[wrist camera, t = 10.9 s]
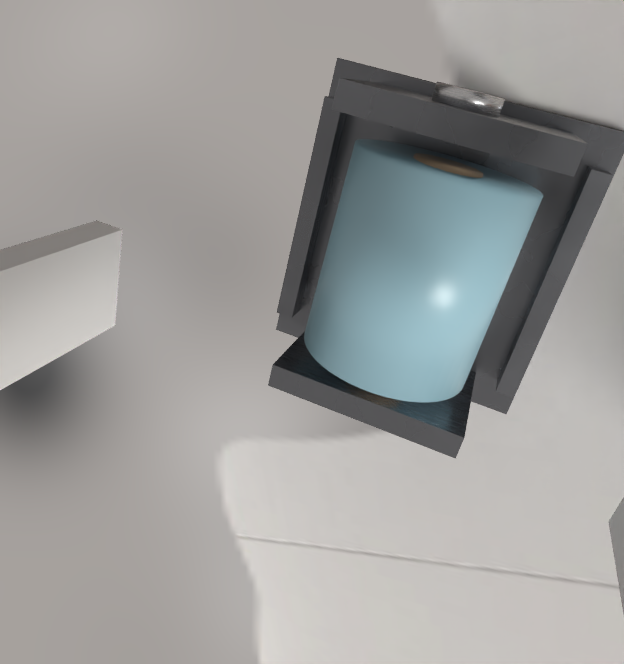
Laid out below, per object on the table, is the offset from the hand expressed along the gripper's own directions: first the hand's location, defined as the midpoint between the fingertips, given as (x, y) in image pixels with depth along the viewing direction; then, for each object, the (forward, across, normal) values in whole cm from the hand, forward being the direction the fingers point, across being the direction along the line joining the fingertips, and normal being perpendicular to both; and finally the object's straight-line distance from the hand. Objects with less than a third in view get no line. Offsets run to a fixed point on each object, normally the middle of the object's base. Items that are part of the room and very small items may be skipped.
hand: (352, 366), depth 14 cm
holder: (+14, 0, -1) cm, 15 cm away
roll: (+14, 0, -1) cm, 14 cm away
